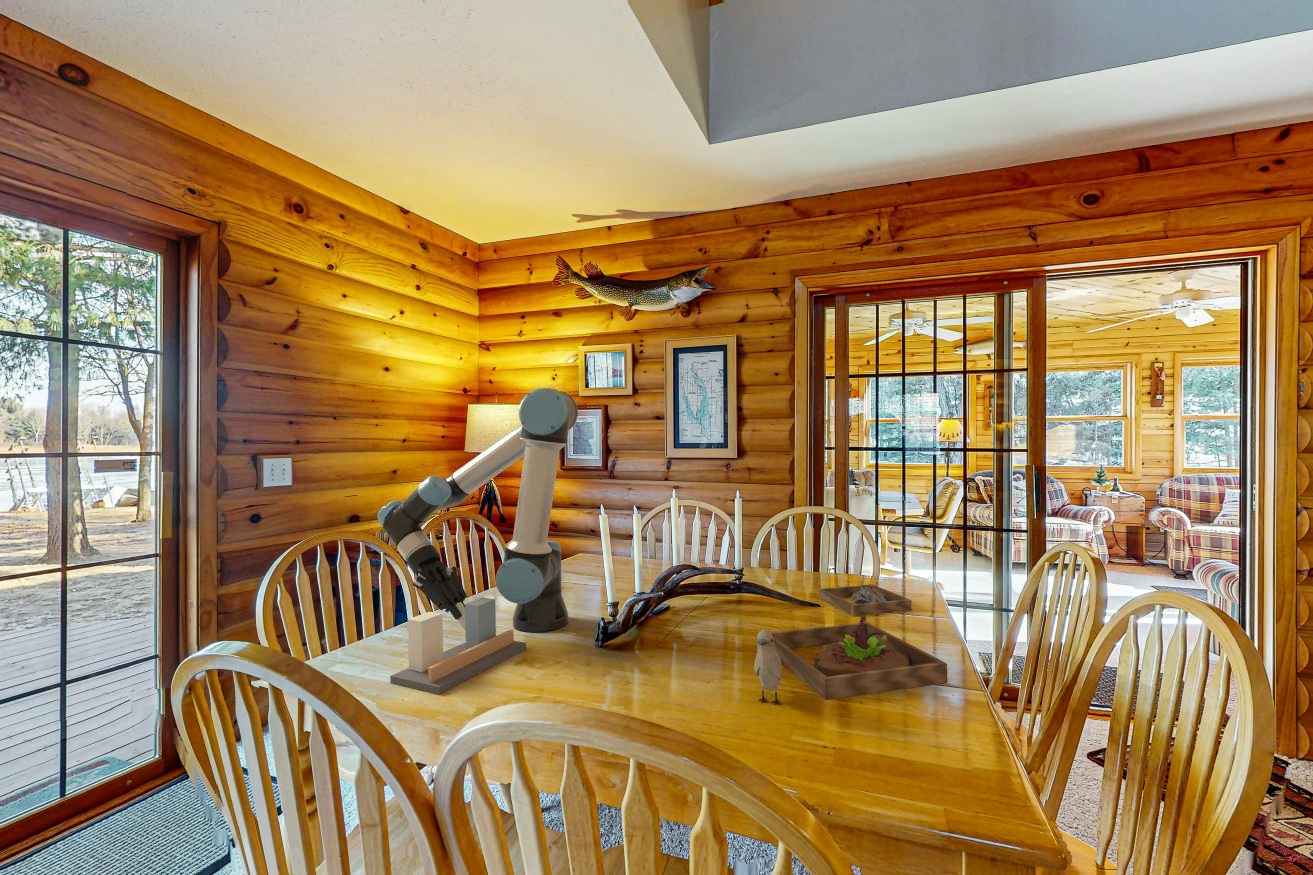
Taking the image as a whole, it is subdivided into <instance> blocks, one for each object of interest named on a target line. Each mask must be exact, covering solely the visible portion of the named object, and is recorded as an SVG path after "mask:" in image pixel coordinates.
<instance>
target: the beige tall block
mask: <svg viewBox="0 0 1313 875" xmlns="http://www.w3.org/2000/svg"><path fill="white" fill-rule="evenodd" d="M443 625H444V624H443V613H440V612H434V611H427V612H425V613H422V614H419V615H416V616H413V617H409V618H408V619H407V636H408V637H407V640H408V641H407V643H408V644H407V645H408V646H407V647H408V649H407V650H408V651H407V652H408V668H409V670H414V671H419V672H424V671H426V670H428V667H430V666H433V665H435V664H437V663H439V662H441V661H443V652H444V637H443V636H444V635H443V632H444V631H443V630H444V628H443Z"/></svg>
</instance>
